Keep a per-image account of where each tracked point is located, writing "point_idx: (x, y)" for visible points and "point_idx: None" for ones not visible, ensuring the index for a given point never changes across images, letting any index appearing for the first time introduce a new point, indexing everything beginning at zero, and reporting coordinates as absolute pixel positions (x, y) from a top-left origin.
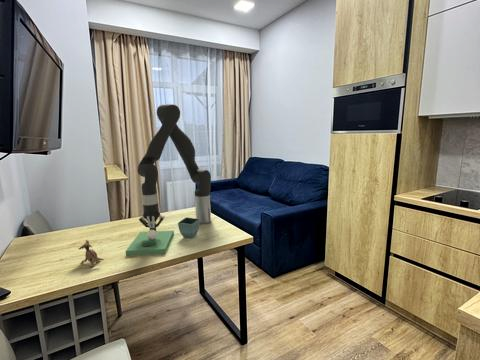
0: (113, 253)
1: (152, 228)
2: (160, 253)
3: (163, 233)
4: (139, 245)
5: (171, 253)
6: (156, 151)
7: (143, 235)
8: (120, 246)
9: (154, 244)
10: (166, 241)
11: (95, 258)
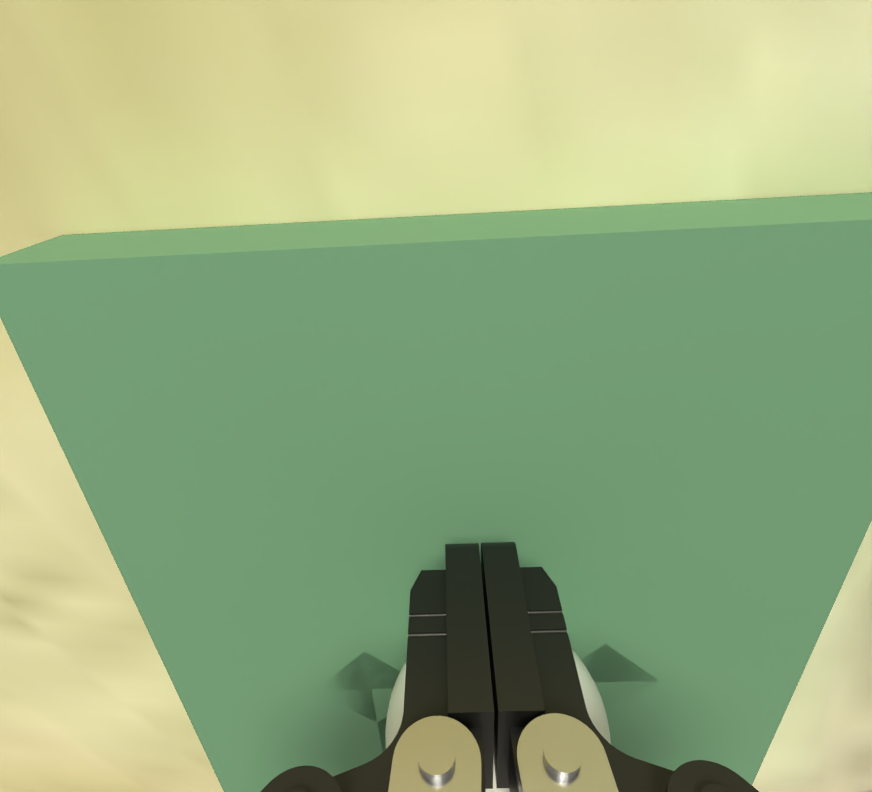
0: (78, 731)
1: (502, 786)
2: None
3: (688, 406)
4: None
5: (766, 754)
6: None
7: (221, 483)
8: (9, 604)
9: None
10: (752, 704)
11: None
